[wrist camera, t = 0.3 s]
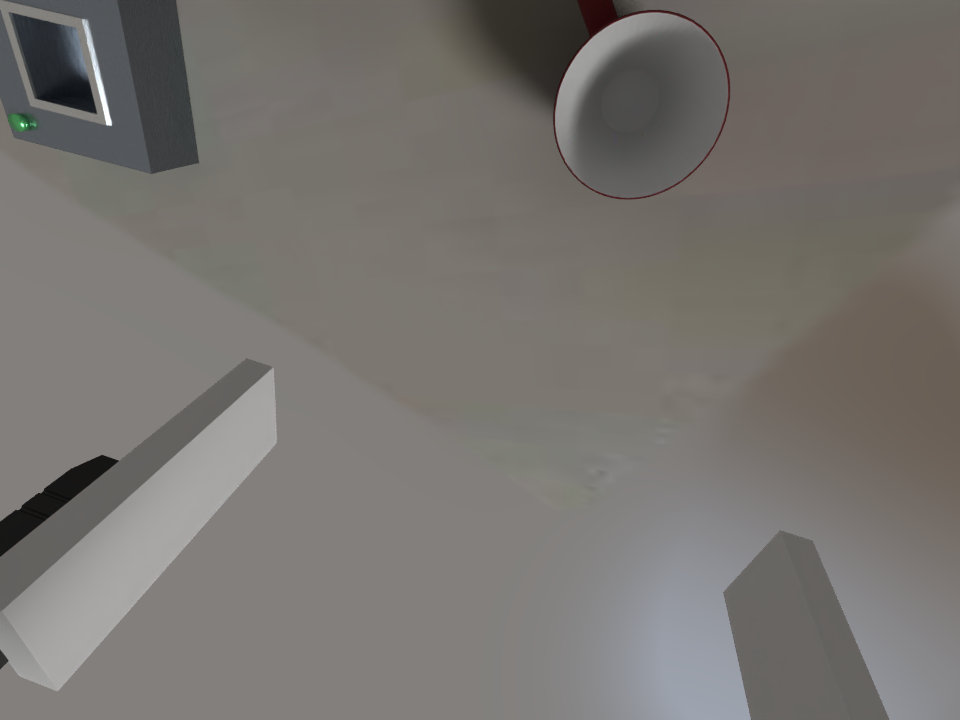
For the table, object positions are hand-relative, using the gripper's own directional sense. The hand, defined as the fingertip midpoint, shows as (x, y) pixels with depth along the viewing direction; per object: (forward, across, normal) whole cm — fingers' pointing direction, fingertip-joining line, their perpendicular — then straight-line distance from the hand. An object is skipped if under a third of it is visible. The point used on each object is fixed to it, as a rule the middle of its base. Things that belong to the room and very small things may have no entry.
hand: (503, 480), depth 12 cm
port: (+28, -37, +1) cm, 47 cm away
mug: (+28, 0, +8) cm, 29 cm away
